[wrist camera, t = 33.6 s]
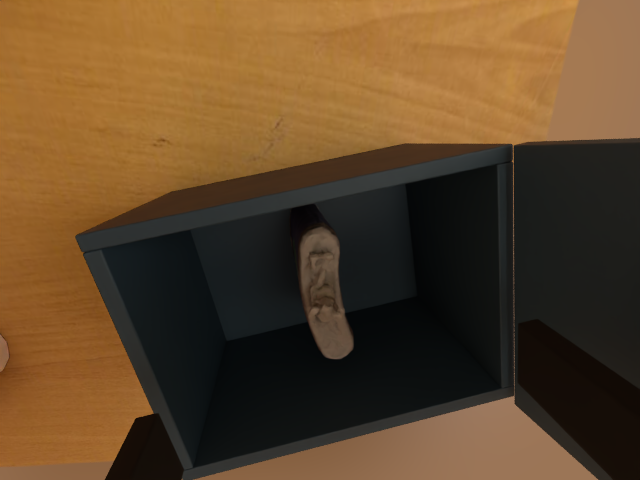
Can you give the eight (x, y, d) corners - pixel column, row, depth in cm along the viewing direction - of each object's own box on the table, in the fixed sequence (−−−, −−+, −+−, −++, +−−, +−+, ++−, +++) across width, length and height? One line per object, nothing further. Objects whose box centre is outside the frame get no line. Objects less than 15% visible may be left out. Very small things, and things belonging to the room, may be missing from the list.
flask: (335, 295, 29) (365, 377, 19) (303, 302, 29) (316, 388, 19) (317, 195, 26) (341, 227, 16) (282, 201, 26) (284, 239, 16)
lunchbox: (222, 345, 30) (183, 482, 18) (170, 191, 26) (73, 235, 13) (422, 297, 31) (514, 396, 19) (406, 143, 27) (513, 143, 15)
